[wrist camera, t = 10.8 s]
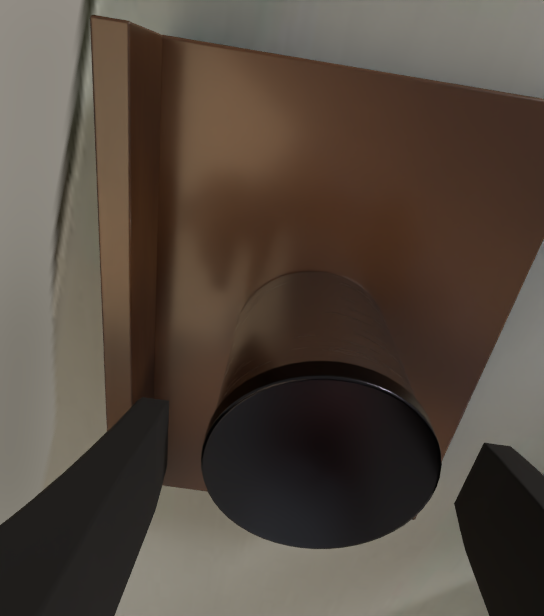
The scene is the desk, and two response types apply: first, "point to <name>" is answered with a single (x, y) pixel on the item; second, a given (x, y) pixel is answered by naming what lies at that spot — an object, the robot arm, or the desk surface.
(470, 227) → the wooden display base
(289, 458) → the spice tin
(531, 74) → the desk surface
